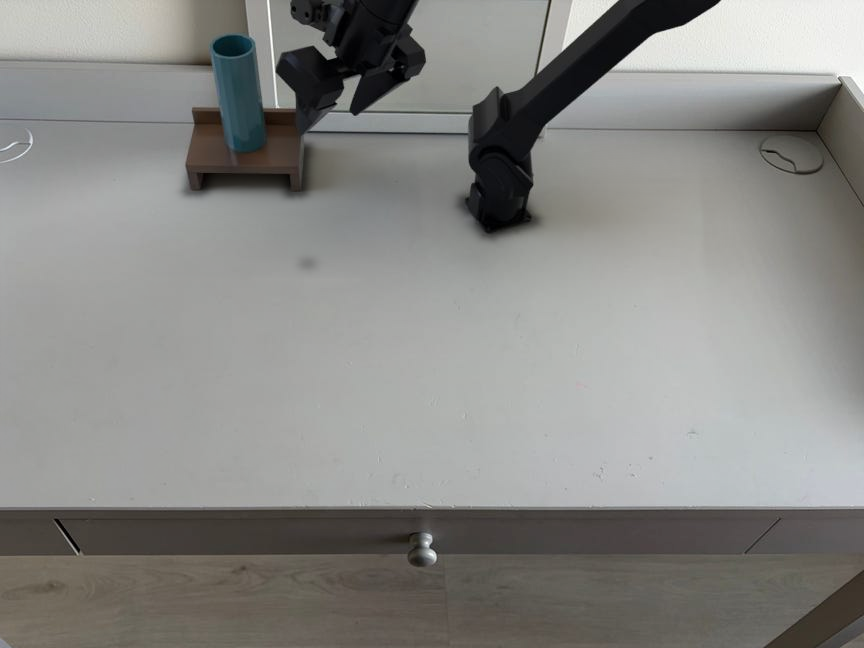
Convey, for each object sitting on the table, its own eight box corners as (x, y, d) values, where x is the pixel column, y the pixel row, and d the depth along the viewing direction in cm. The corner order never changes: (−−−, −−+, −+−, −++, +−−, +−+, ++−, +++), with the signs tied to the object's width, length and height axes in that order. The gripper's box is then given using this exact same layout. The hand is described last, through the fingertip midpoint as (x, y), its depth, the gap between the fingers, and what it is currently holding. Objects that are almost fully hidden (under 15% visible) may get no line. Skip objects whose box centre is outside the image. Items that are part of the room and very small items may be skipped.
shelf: (304, 146, 105) (301, 108, 100) (300, 191, 99) (297, 153, 95) (200, 145, 104) (192, 106, 100) (190, 190, 99) (181, 151, 94)
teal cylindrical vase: (273, 144, 99) (263, 50, 88) (236, 157, 97) (220, 63, 87) (256, 122, 101) (243, 28, 91) (219, 134, 100) (202, 40, 89)
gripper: (387, -57, 85) (333, 59, 96) (264, -39, 72) (220, 91, 84) (456, 12, 83) (394, 121, 95) (343, 41, 71) (287, 163, 82)
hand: (326, 122), depth 89 cm, fingers open, 9 cm apart
